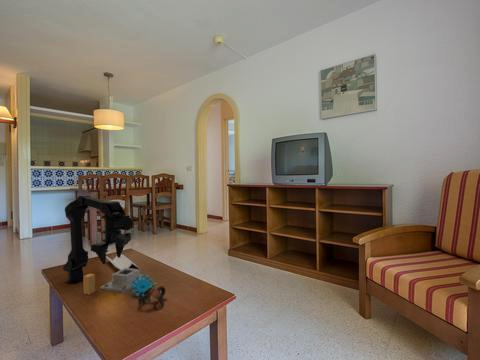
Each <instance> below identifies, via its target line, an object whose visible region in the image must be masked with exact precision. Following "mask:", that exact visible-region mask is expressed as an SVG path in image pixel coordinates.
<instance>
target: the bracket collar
mask: <svg viewBox="0 0 480 360" xmlns="http://www.w3.org/2000/svg"><path fill="white" fill-rule="evenodd" d="M141 275H144V278H142V279H145V278H146V277H147V276H149V277H150V274H149V275H148V274H142V273H140V269H139V268H132V267H131V268H130V267H129V268H124V269H122V270H118V271H115V272H114V273H112V274H111V281H109V282H107V283H105V284H103V285H101V286H100V287H99V289H100V290H104V291H108V292H109V291H110V292H115V293H116V292H117V293H122V294H123V293H124V294H125V293H127V292H128V291H130V290H131V289H132V290H133V288H131V285H134V286H136V285H135V284H134V283H132V281H133V280H135V282H136V283H137V279H136V277H138V276H139V279H138V280H141Z"/></svg>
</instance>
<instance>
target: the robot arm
mask: <svg viewBox="0 0 480 360" xmlns="http://www.w3.org/2000/svg"><path fill="white" fill-rule="evenodd" d="M89 207H90V208H93V209H96V210H99V211H100V213H101V214H104V215H102V216H101V219H104V230H103V231H102V234H104V238H103V239H102V242H96V243H92V244H91V245H90V252H93V253H95V254H96V256H97V257H98V259H99V260H100V262H101V264H102V265H106V262H107V260H106V259H107V257H106V256H107V253H108V252H109V247H110V246H113V245H115V251H116V256H117V257H118V258H120V256H121V254H122V253H123V251H124V248H125V246H126V245H129V242H131V241H132V233H130V232H126V233H122V231H129V230H132V228H133V225H134V221H133V219H132V218H131V216H130V215H129V214H126V212H125V210H124V209H123V207H122V204H121V203H120V201H118V200H117V201H116V200H115V201H114V200H112V201H110V200H107V201H105V200H103V199H98V198H96V197H95V198H94V197H92V196H89V195H82V196H78V198H76V199H75V200H73V201H71V202H70V203H68V204H66V206H65V207H64V213H65V218H66V219H67V220H68V221H69V229H70V245H71V246H70V249H71V250H70V252H69V254H68V255H67V261H66V263H65V264H64V265H63V266H62V268H63V271H64V272H67V280H65V281H64V283H69V284H74V285H75V284H77V283H79V282H81V281H83V276H84V267H85V268H86V267H87V265H88V261H89V259H90V257H89V251H88V250H85V248H84V240H83V239H84V238H83V236H84V235H83V219H84V217H85V216H86V211H87V209H88V208H89Z"/></svg>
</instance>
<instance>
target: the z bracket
mask: <svg viewBox="0 0 480 360" xmlns="http://www.w3.org/2000/svg"><path fill="white" fill-rule="evenodd" d="M106 259H107V260H108V261H109V262H110V263H111V264H112V265H113V266H114V267H115V268H116V269H118V271H120V270H122V269H124V268H130V267H131V266H132V265H133V266H135V267H136V269H139V270H140V269H141V268H140V267H139V266H138V265H136V264H135V263H134V262H133V261H132V260H130V258H128V257H126V256H125V255H124V254H122V253H121V256H120V258H118V257H117V255H116V256H115V257H114V258H113V259H111V258H110V257H109V256H107V255H106Z"/></svg>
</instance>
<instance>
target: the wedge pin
mask: <svg viewBox="0 0 480 360" xmlns="http://www.w3.org/2000/svg"><path fill="white" fill-rule="evenodd" d="M82 281H83V294H84V295H91V294H93V293H95V292H96V275H95V273H88V274H86V275H83V280H82Z"/></svg>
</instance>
